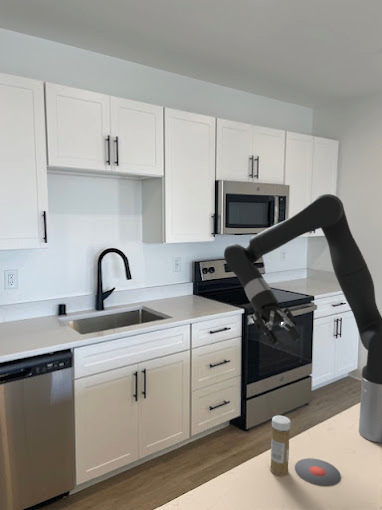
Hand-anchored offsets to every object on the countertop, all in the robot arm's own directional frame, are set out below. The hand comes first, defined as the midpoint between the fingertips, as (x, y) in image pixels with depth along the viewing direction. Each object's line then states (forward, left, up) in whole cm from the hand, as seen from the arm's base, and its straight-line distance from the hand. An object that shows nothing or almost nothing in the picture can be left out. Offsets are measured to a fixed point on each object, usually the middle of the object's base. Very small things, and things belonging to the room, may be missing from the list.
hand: (286, 341), depth 111 cm
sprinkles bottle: (+12, +10, -29) cm, 33 cm away
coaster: (+4, +16, -29) cm, 33 cm away
